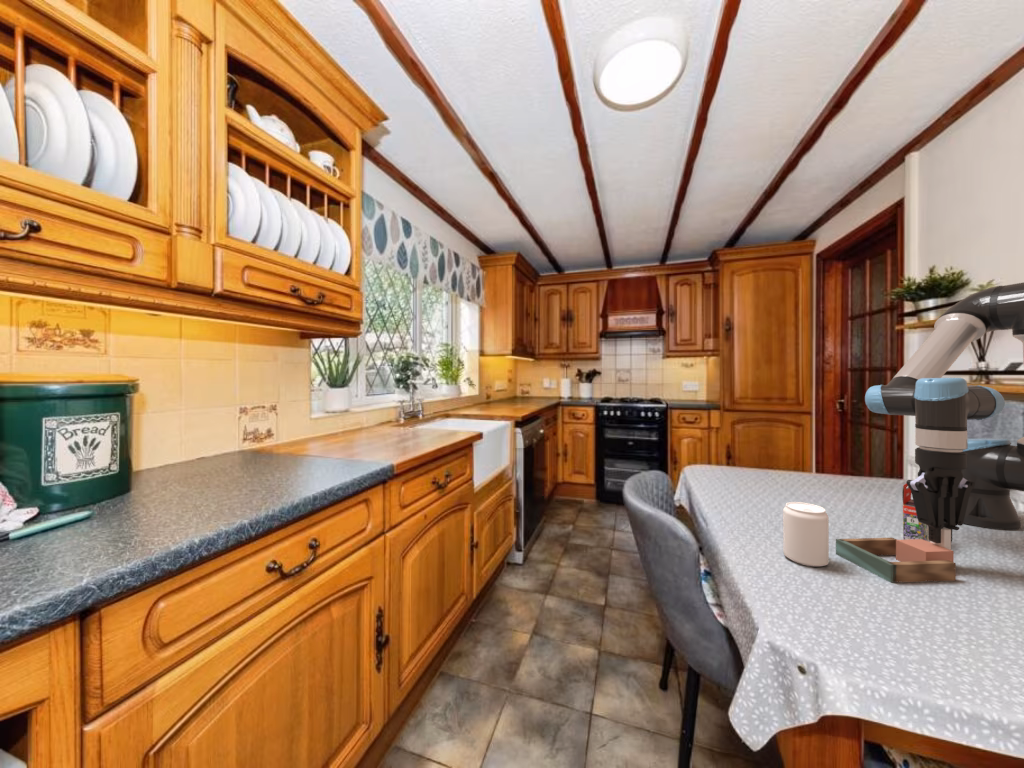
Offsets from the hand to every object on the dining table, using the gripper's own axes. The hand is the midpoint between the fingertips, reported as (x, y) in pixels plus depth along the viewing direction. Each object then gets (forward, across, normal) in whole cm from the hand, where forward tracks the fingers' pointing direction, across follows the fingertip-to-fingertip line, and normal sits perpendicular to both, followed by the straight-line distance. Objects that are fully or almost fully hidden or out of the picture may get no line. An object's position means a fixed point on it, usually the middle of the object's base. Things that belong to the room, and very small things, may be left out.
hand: (940, 556), depth 83 cm
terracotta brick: (+2, +4, 0) cm, 4 cm away
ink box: (+2, -7, -11) cm, 13 cm away
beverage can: (+2, +27, -4) cm, 27 cm away
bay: (+2, +11, 0) cm, 11 cm away
